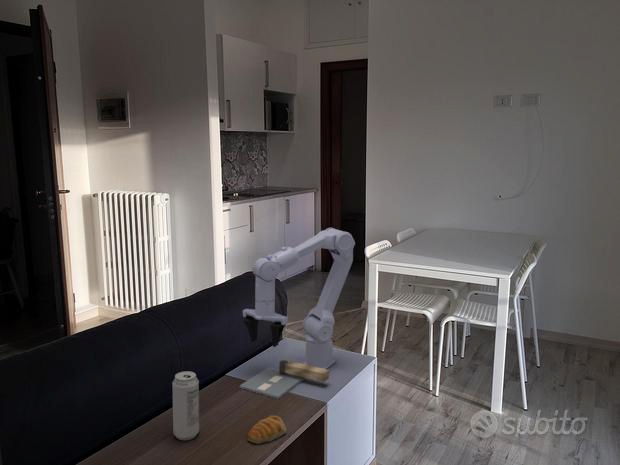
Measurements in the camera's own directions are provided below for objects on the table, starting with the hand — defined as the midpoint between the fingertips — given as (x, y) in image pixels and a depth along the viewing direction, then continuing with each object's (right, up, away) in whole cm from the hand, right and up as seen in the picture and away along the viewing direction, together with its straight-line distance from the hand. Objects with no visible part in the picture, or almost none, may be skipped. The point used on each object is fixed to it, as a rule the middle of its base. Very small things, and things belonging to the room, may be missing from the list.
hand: (264, 343), depth 158 cm
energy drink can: (-16, -16, -31) cm, 39 cm away
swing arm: (+11, -10, -1) cm, 15 cm away
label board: (+3, -11, -3) cm, 12 cm away
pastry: (+3, -16, -31) cm, 35 cm away
